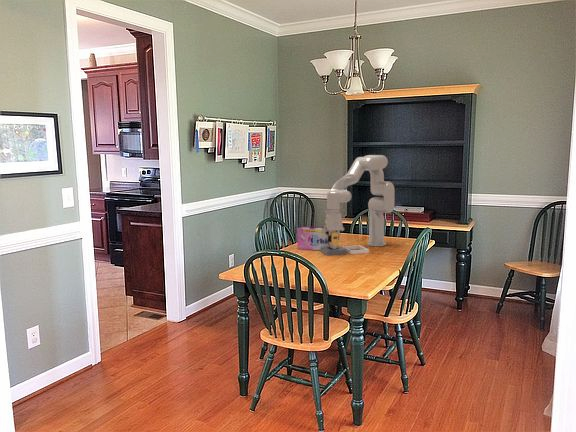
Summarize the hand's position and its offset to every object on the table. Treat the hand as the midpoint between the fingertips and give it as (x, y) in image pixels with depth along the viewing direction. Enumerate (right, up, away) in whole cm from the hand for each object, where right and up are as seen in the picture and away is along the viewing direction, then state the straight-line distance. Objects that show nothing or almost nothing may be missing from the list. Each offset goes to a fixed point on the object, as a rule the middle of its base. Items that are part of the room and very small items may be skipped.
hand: (333, 241), depth 307 cm
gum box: (-10, -6, +13) cm, 17 cm away
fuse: (0, -4, +1) cm, 4 cm away
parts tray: (+14, -7, +6) cm, 17 cm away
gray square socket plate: (0, -8, +1) cm, 8 cm away
